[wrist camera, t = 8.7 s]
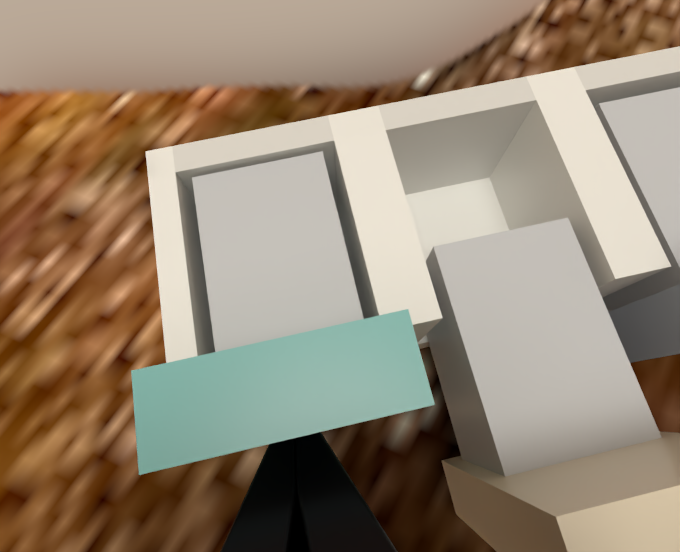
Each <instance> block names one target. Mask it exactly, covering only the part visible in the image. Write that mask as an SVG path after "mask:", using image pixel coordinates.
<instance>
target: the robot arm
mask: <svg viewBox="0 0 680 552" xmlns="http://www.w3.org/2000/svg"><path fill="white" fill-rule="evenodd" d="M220 552H398V551H397V550H396V548H395V547H394V545H393V544H392V542H391V541H390V539H389V537H388V536H387V534H386V533H385V531H384V530H383V528H382V527H381V525H380V524H379V522H378V520H377V519H376V517H375V516H374V514H373V513H372V511H371V510H370V508H369V506H368V505H367V503H366V502H365V500H364V499H363V497H362V496H361V494H360V492H359V491H358V489H357V488H356V486H355V485H354V483H353V482H352V480H351V478H350V477H349V475H348V474H347V472H346V471H345V469H344V468H343V466H342V464H341V463H340V461H339V460H338V458H337V457H336V455H335V454H334V452H333V450H332V449H331V447H330V446H329V444H328V443H327V441H326V440H325V438H324V437H323V435H322V433H321V432H318V433H314V434H310V435H306V436H301V437H297V438H293V439H289V440H284V441H280V442H276V443H272V444H269V446H268V448H267V450H266V452H265V455H264V457H263V459H262V461H261V463H260V466H259V468H258V470H257V472H256V474H255V476H254V479H253V481H252V483H251V485H250V487H249V490H248V492H247V494H246V496H245V498H244V500H243V503H242V505H241V507H240V509H239V511H238V514H237V516H236V518H235V520H234V522H233V524H232V527H231V529H230V531H229V533H228V535H227V538H226V540H225V542H224V544H223V546H222V548H221V551H220Z"/></svg>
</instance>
